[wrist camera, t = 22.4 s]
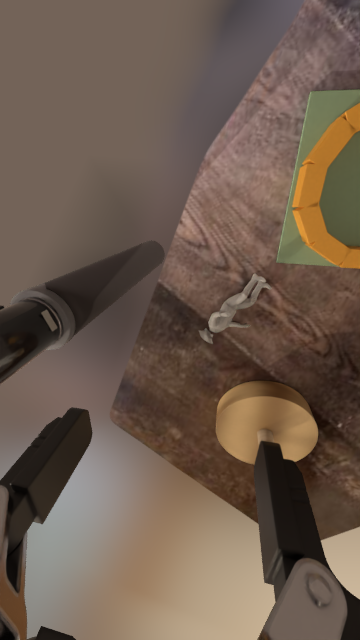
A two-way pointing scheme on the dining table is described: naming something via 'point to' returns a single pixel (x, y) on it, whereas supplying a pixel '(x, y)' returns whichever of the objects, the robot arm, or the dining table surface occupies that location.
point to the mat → (326, 180)
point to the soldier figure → (233, 308)
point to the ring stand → (265, 420)
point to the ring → (311, 191)
